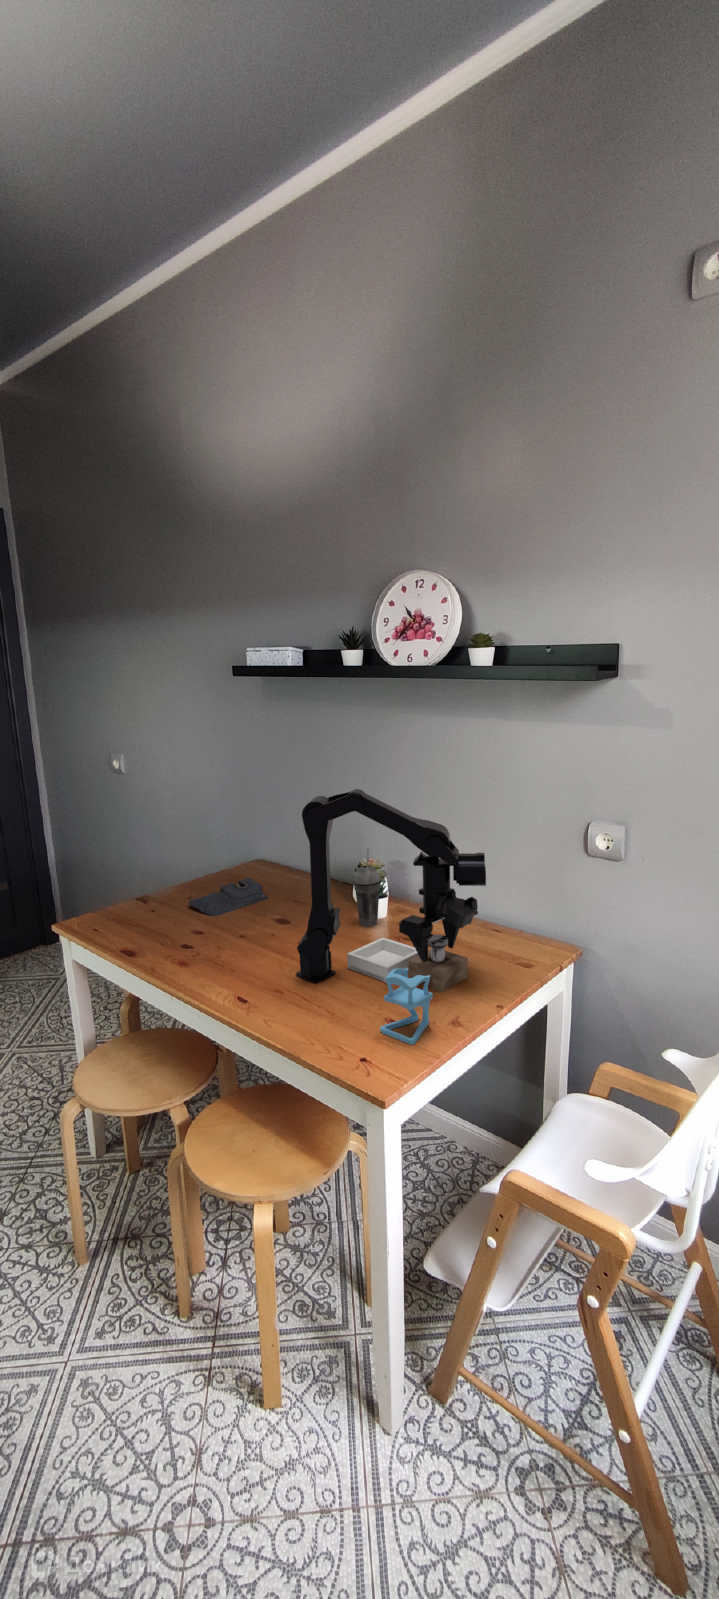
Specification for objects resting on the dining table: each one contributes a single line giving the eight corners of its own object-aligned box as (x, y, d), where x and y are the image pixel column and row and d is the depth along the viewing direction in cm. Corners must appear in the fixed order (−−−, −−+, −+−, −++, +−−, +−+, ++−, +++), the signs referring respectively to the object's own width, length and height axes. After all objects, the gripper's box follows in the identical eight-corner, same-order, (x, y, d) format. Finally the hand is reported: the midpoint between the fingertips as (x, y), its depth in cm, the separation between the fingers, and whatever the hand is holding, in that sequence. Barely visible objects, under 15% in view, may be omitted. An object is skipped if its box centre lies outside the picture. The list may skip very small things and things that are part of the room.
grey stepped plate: (181, 908, 210) (179, 892, 209) (242, 888, 226) (241, 873, 225) (213, 919, 200) (211, 903, 199) (274, 898, 215) (273, 882, 214)
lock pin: (440, 985, 155) (439, 944, 153) (423, 979, 158) (423, 939, 156) (452, 978, 158) (452, 937, 156) (436, 972, 161) (435, 932, 159)
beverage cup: (349, 926, 189) (346, 851, 186) (362, 916, 196) (359, 844, 192) (374, 930, 186) (372, 854, 182) (387, 920, 192) (384, 847, 188)
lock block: (442, 992, 151) (441, 971, 150) (408, 979, 157) (408, 960, 157) (467, 977, 158) (467, 957, 157) (434, 966, 164) (434, 947, 163)
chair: (439, 1027, 137) (438, 967, 135) (412, 1045, 131) (410, 983, 129) (407, 1014, 143) (405, 957, 140) (379, 1032, 137) (377, 972, 134)
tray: (387, 983, 156) (387, 967, 156) (347, 968, 165) (347, 953, 164) (423, 964, 165) (422, 950, 164) (383, 951, 173) (382, 937, 172)
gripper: (440, 904, 141) (441, 980, 144) (494, 880, 154) (494, 950, 158) (396, 893, 149) (398, 965, 152) (451, 871, 162) (452, 937, 165)
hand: (437, 954), depth 156 cm, fingers open, 9 cm apart
